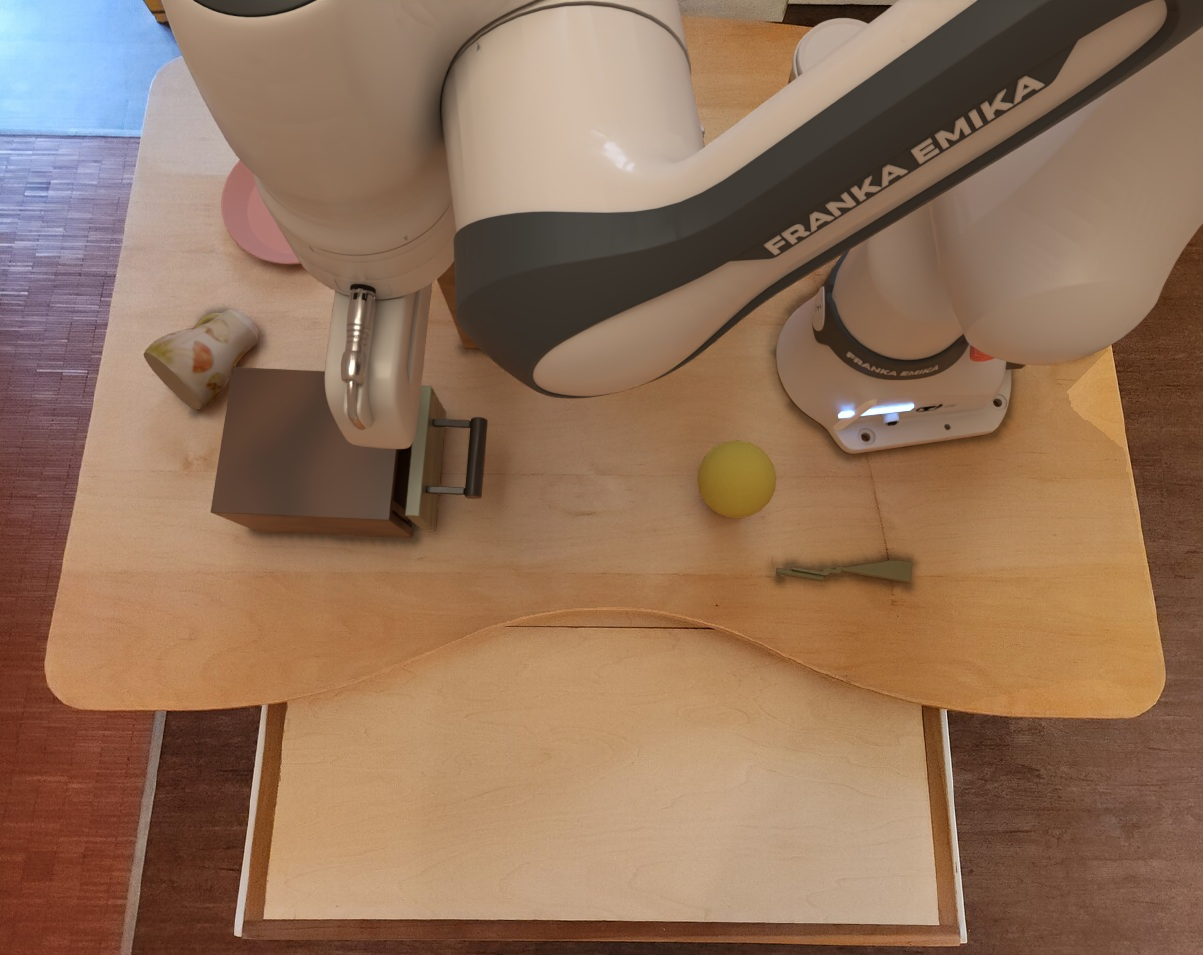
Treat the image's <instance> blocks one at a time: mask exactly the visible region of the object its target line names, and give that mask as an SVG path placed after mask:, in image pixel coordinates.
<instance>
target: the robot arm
mask: <svg viewBox="0 0 1203 955" xmlns="http://www.w3.org/2000/svg"><path fill="white" fill-rule="evenodd" d="M161 4H162V6H163V10H164V12H165V15H166V18H167V22H168V24H169V27H170V30H171V32H172V35H173V37H174V40H175V43H176V45H177V48H178V50H179V52H180V54H181V56H182V59H183V61H184V63H185V65H186V67H187V69H188V71H189V73H190V75H191V78H192V80H193V82H194V84H195V86H196V88H197V90H198V92H199V94H200V96H201V98H202V99H203V101H204V103H205V105H206V108H207V109H208V111H209V113H210V115H211V117H212V118H213V120H214V122H215V124H216V125H217V127H218V128H219V129H218V130H220V132H221V134H222V136H223V137H224V140H225V141H226V142H227V144H228V146H229V147H230V149H231V150H232V151H233V153H234V154H235V156H236V157H237V159H239V160H240V161H241V162H242V163H243V164H244V165H245V166H246V167H247V168H248V169H249V170H250V171H251V172H252V173H253V175H254V179H255V183H256V186H257V189H258V191H259V194H260V196H261V198H262V200H263V202H264V204H265V206H266V207H267V209H268V211H269V213H270V214H271V216H272V217H273V219H274V221H275V222H276V224H277V226H278V227H279V229H280V231H281V232H282V234H283V236H284V237H285V239H286V241H287V242H288V244H289V246H290V247H291V249H292V251H293V252H294V254H295V256H296V257H297V259H298V260H299V262H300V263H299V264H301V266H302V267H303V268H304V270H305V271H307V273H308V274H309V275H310V276H311V277H313V278H314V279H315V280H317V282H319V283H321V284H322V285H324V286H325V287H327V288H329V289H331V290H333V291H334V294H333V302H332V308H331V309H332V310H331V317H330V327H329V332H328V340H327V347H326V354H325V364H324V365H325V366H324V371H325V391H326V397H327V401H328V405H329V407H330V410H331V412H332V415H333V417H334V419H335V421H336V423H337V425H338V427H339V429H340V430H341V432H342V434H343V435H344V437H345V438H346V440H347V441H348V442H349V443H351V444H353V445H356V446H362V447H371V448H383V449H406V448H408V447H410V446H411V444H412V443H413V441H414V438H415V435H416V430H417V421H418V412H419V403H420V393H421V386H422V384H423V374H424V365H425V364H424V363H425V355H426V347H427V346H426V345H427V336H428V328H429V317H430V309H431V308H430V307H431V299H432V291H433V290H432V289H433V282H435V281H436V280H437V278H439V277H440V276H441V275H442V274H443V273H444V272H445V271H446V270H447V269H448V268H449V267H450V266H451V265H452V263H453V262H454V270H455V298H456V319H457V322H458V324H459V326H460V327H461V329H462V330H463V331H464V332H465V333H466V334H467V335H468V336H469V338H470V339H471V340H472V341H473V342H474V343H475V344H476V345H477V346H478V347H479V348H480V349H479V350H480V351H482V352H483V354H485V355H486V356H487V357H488V358H489V359H490V360H492V362H494V363H495V364H496V365H497V366H499V368H501V369H502V370H503V371H504V372H506V373H507V374H508V375H510V376H512V378H514V379H516V380H517V381H518V382H520V383H521V384H523V385H525V386H526V387H528V388H529V389H531V390H533V391H535V392H536V393H538V394H540V395H543V396H545V397H550V398H555V399H556V398H558V399H568V400H570V399H571V400H573V399H590V398H597V397H598V398H599V397H604V396H609V395H613V394H619V393H622V392H626V391H629V390H633V389H636V388H639V387H641V386H644V385H645V386H646V385H647V384H649V383H653V382H655V381H657V380H659V379H662V378H663V377H666V376H667V375H670V374H671V373H673V372H675V371H678V369H680V368H682V367H684V366H685V365H686V364H688V363H690V362H691V361H693V360H694V359H696V357H698V356H699V355H701V354H703V353H704V351H706V350H707V349H708V348H710V347H711V346H712V345H713V344H715V343H716V342H717V341H718V340H719V339H720V338H722V337H723V336H724V335H725V334H727V333H728V332H729V331H730V330H731V329H732V328H733V327H735V326H736V325H737V324H739V323H740V322H741V321H742V320H744V318H746V317H747V316H748V315H750V314H752V312H754V311H755V310H756V309H758V308H759V307H761V306H762V305H763V304H765V303H766V302H768V301H769V300H771V299H772V298H773V297H776V296H777V295H778V294H779V293H781V292H783V291H785V290H786V289H788V288H790V287H792V285H794V284H796V283H798V282H799V281H801V280H802V279H805V278H806V277H808V276H809V275H811V274H812V273H814V272H816V271H818V270H819V269H820V268H823V267H824V266H826V265H827V264H829V263H830V262H832V261H834V260H835V259H837V258H838V259H837V261H836V262H835V264H833V267H832V268H831V269H830V271H829V272H828V274H827V276H826V278H825V279H824V280H823V282H822V285H821V287H820V288H819V290H818V292H817V293H816V294H814V296H812V297H811V298H810V299H808V300H806V301H805V302H804V303H802V304H801V305H800V306H798V308H796V309H795V310H794V311H793V312H792V313H791V314H790V316H789V317H788V318H787V320H786V321H785V323H784V325H783V326H782V328H781V330H780V332H779V335H778V340H777V342H776V343H777V344H776V350H775V352H776V353H775V360H776V368H777V373H778V376H779V380H780V381H781V384H782V386H783V388H784V390H785V392H786V394H787V395H788V397H789V398H790V399H791V400H792V402H793V403H794V404H795V405H796V406H797V407H798V409H800V410H801V411H802V412H803V413H804V414H806V416H808V417H810V418H811V419H813V420H814V421H815V422H817V423H818V424H820V425H821V426H823V428H825V429H826V430H827V432H828V433H829V435H830V436H831V438H832V439H833V440H834V442H835V444H836V445H837V446H838V447H839V448H840V449H841V450H842V451H844V452H845V453H847V454H851V455H854V454H855V455H856V454H863V453H869V452H876V451H884V450H889V449H896V448H903V447H911V446H917V445H924V444H931V443H938V442H944V441H951V440H958V439H965V438H972V437H978V436H986V435H988V434H992V433H993V432H995V430H997V428H998V427H999V426H1000V425H1001V423H1002V421H1003V419H1004V418H1005V415H1006V413H1007V410H1008V408H1009V403H1010V398H1011V393H1012V370H1021V369H1023V368H1024V367H1026V366H1052V365H1053V366H1055V365H1060V364H1065V363H1070V362H1074V361H1078V360H1081V359H1084V358H1087V357H1090V356H1092V355H1095V354H1096V353H1099V352H1101V351H1103V350H1105V349H1107V348H1109V347H1111V346H1112V345H1114V344H1115V343H1117V342H1119V341H1120V340H1121V339H1123V338H1124V337H1126V336H1127V335H1128V334H1129V333H1130V332H1132V331H1133V330H1134V329H1135V328H1137V327H1138V325H1139V324H1140V323H1141V322H1142V321H1143V320H1144V319H1146V317H1147V316H1148V314H1149V313H1150V312H1151V311H1152V310H1153V308H1154V307H1155V305H1156V304H1157V302H1158V300H1159V298H1160V296H1161V294H1162V291H1163V288H1164V286H1165V283H1166V282H1167V280H1168V278H1169V276H1170V274H1171V272H1172V270H1173V268H1174V266H1175V264H1176V263H1177V261H1178V260H1179V258H1180V256H1181V254H1182V252H1183V251H1184V250H1185V248H1186V246H1187V245H1188V244H1189V242H1190V241H1191V239H1192V238H1193V237H1194V236H1195V234H1196V233H1197V232H1198V230H1199V229H1200V227H1202V225H1203V0H897V1H896V2H895V3H893V4H892V5H891V6H890V7H889V8H887V9H886V10H885V11H884V12H882V13H881V14H879V15H878V16H877V17H876V18H875V19H873V20H872V21H870V22H869V23H867V24H868V25H866V26H865V27H864V28H862V29H861V30H860V31H858V32H857V33H856V34H854V35H853V36H852V37H850V38H849V39H848V40H846V41H845V42H844V43H842V44H841V45H840V46H838V47H837V48H836V49H834V50H833V51H832V52H830V53H829V54H828V55H826V56H825V57H824V58H822V59H821V60H820V61H818V62H817V63H816V64H814V65H813V66H812V67H810V68H809V69H808V70H806V71H805V72H804V73H802V74H801V75H800V76H798V77H797V78H796V79H794V80H793V81H792V82H790V83H789V84H788V83H787V84H786V85H785V86H784V87H782V88H781V89H780V90H778V91H777V92H776V93H774V94H773V95H772V96H770V97H769V98H767V99H766V100H765V101H764V102H762V103H761V104H759V105H758V106H757V107H756V108H754V109H753V110H752V111H750V112H748V114H746V115H745V116H744V117H742V118H741V119H740V120H738V121H737V122H736V123H734V124H733V125H732V126H730V127H729V128H728V129H726V130H725V131H724V132H722V133H721V134H720V135H718V136H717V137H715V139H713V140H712V141H710V142H709V143H708V144H706V145H705V140H704V138H703V135H702V130H701V125H700V122H701V119H700V115H699V110H698V107H697V101H696V95H695V90H694V85H693V81H692V63H691V59H690V58H691V57H690V54H689V49H688V44H687V40H686V39H687V38H686V35H685V29H684V24H683V19H682V15H681V10H680V7H679V2H678V0H161ZM994 402H996V403H997V404H998V406H996V405H995V404H994ZM862 436H865V437H866V438H867V441H865V440H863V439H862Z"/></svg>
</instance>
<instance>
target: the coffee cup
mask: <svg viewBox="0 0 1203 955" xmlns="http://www.w3.org/2000/svg"><path fill="white" fill-rule="evenodd" d="M868 24H869V23H867V22H865V21H862V20H860V19H855V18H848V17H839V18H838V17H837V18H832V19H828V20H824V21H822V22H820V23H818V24H817V25H815V26H813V27H812V28H811V29H810V30H808V31H807V32H806V33H805V34H804V35H803V36H802V37H801V38H800V40H799V41H798V42H797V45H796V47H795V49H794V52H793V55H792V56H793V57H792V62H791V64H792V66H791V68H790V72H789V76H788V81H787V85H788V84H789V83H790V82H792V81H793V80H794V79H796V78H797V77H798V76H800V75H801V74H802V73H804V72H805V71H806V70H808V69H809V68H810V67H812V66H813V65H814V64H816V63H817V62H818V61H820V60H821V59H822V58H824V57H825V56H826V55H828V54H829V53H830V52H832V51H833V50H834V49H836V48H837V47H838V46H840V45H841V44H842V43H844V42H845V41H846V40H848V39H849V38H850V37H852V36H853V35H854V34H856V33H857V32H858V31H860V30H861V29H862V28H864V27H865V26H866V25H868Z"/></svg>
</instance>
